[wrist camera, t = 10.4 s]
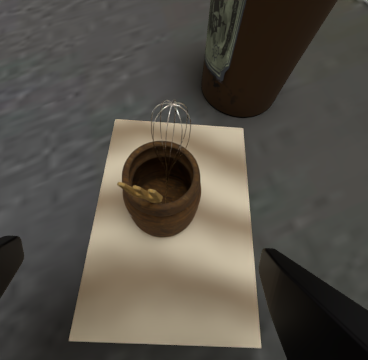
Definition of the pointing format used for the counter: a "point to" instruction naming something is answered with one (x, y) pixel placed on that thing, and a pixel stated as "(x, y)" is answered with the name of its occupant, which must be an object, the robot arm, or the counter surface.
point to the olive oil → (256, 50)
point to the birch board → (173, 253)
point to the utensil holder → (161, 184)
